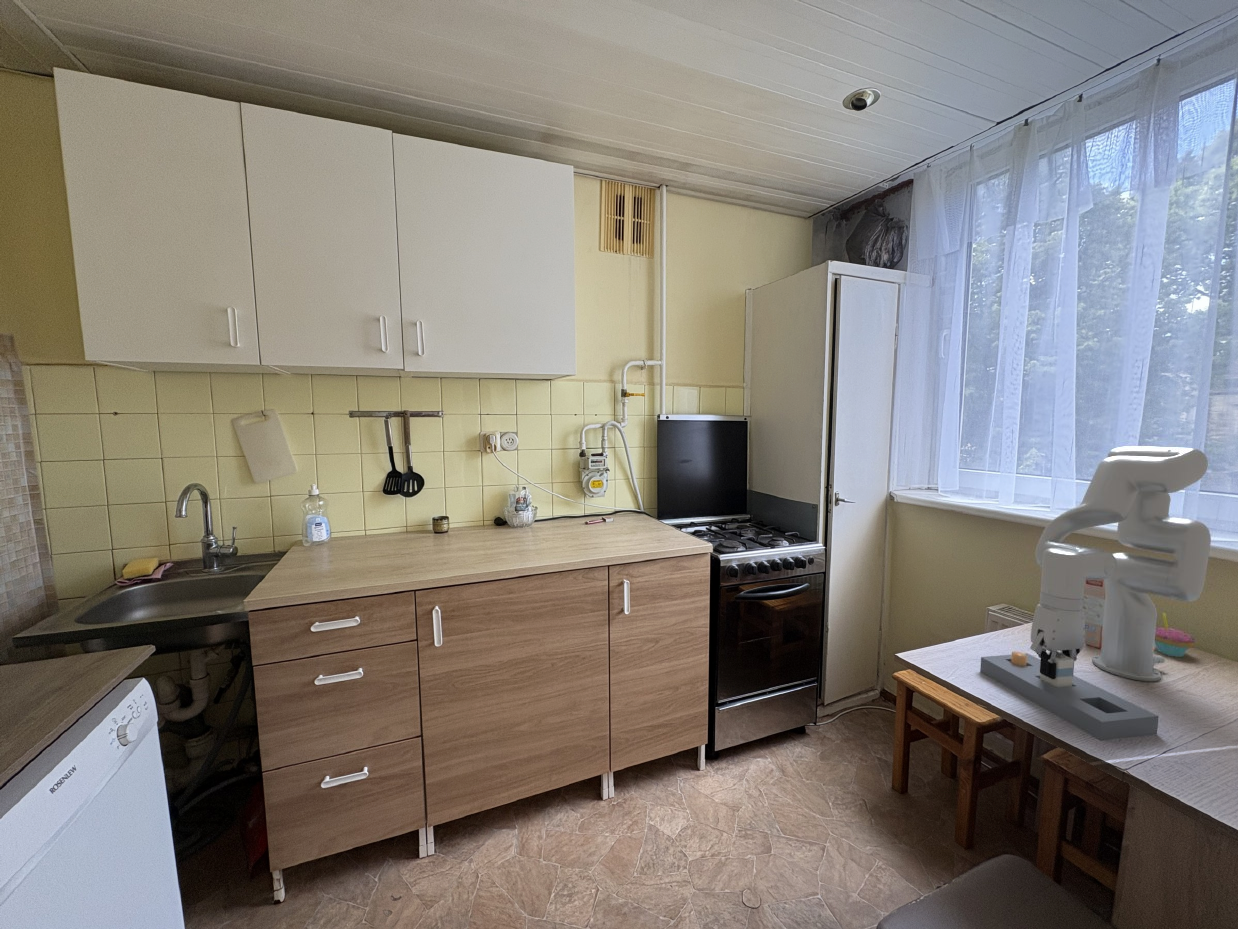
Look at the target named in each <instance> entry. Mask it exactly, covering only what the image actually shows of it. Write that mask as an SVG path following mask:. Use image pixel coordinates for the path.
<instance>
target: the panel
mask: <svg viewBox="0 0 1238 929" xmlns="http://www.w3.org/2000/svg"><path fill="white" fill-rule="evenodd" d="M1024 654H1026V655H1027V664H1026V666H1025V667H1019V666H1017V665H1015V664H1013V663H1011V659H1012V654H1002V655H991V656H990V655H988V656H981V657H980V668H979V670H980V673H981V674H984V675H985V676H987V677H989V678H990V679H992V680H994V681H996V682H998V683H999V684H1000V685H1002V686H1004V687H1006V688H1008V689H1010V690H1012V691H1013V692H1015V693H1017V694H1018V695H1020V696H1022V697H1023V698H1025V699H1027V700H1028V701H1031V702H1033V703H1034V704H1036V705H1037V706H1040V707H1041V708H1043V709H1045V710H1046V711H1048V712H1050V713H1051V714H1053V715H1055V716H1057V717H1058V718H1061V719H1062V720H1064V721H1066V722H1067V723H1069V724H1071V725H1073V726H1075V727H1076V728H1078V729H1080V731H1083V732H1085V733H1087V734H1089V735H1090V736H1092V737H1094V738H1095V739H1097V740H1099V741H1109V740H1117V739H1119V740H1120V739H1127V738H1135V737H1137V738H1138V737H1145V736H1153V735H1154V736H1155V735H1158V726H1159V717H1160V716H1159V715H1157V714H1155V713H1153V712H1151V711H1149V710H1147V709H1145V708H1143V707H1141V706H1138V705H1136V704H1135V703H1133V702H1130V701H1128V700H1126V699H1124V698H1122V697H1120V696H1118V695H1115V694H1113V693H1111V692H1109V691H1107V690H1106V689H1103V688H1100V687H1098V686H1097V685H1094V684H1092V683H1090V682H1088V681H1087V680H1084V679H1082V678H1080V677H1078V676H1075V675H1074V674H1073V678H1072V687H1062V688H1057V687H1055V686H1053V685H1051V684H1049V683H1047V682H1045V681H1043V680H1041V679H1040V662H1041V658H1039V657H1035V656H1034V655H1031V654H1029V653H1027V652H1025V653H1024Z"/></svg>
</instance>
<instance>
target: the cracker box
mask: <svg viewBox="0 0 1238 929" xmlns="http://www.w3.org/2000/svg"><path fill="white" fill-rule="evenodd" d="M1104 607H1105V582H1104V580H1085V589H1084V603H1083V611H1084V617H1085V641H1084V642H1085V644H1086V646H1089V647H1093V648H1097V649H1100V650H1101V644H1102V631H1103V618H1104Z"/></svg>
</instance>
